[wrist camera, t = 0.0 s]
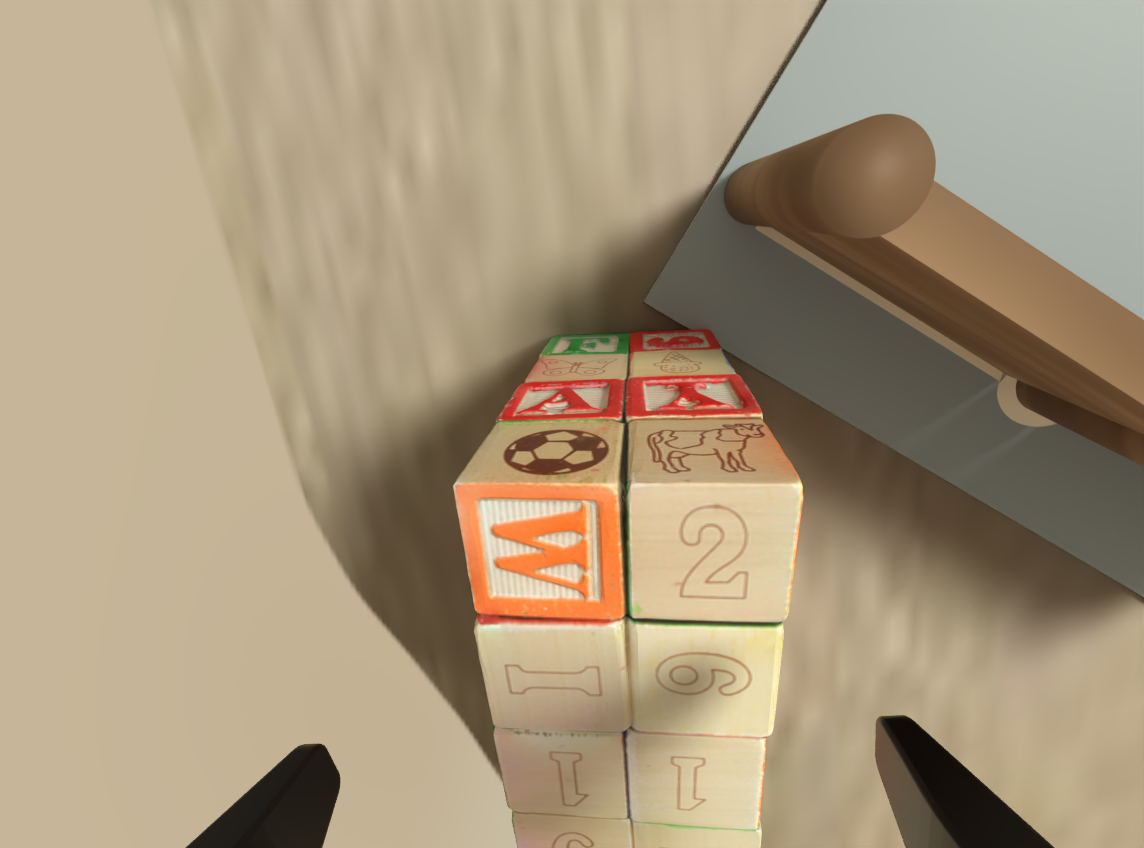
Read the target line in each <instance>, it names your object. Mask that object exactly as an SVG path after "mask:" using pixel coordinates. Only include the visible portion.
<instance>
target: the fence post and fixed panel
mask: <svg viewBox="0 0 1144 848" xmlns="http://www.w3.org/2000/svg"><path fill="white" fill-rule="evenodd" d="M935 170H936V158H935V151H934V147H933V144H932V142H931V139H930V137H929V136H928V134H927V132H926V131H925V130H924V129H923V128H922V127H921V126H920V125H919V124H918V123H916V122H915V121H913V120H912V119H910V118H907V117H905V116H902V115H897V114H879V115H874V116H870V117H867V118H865V119H862V120H859V121H857V122H854V123H852V124H849V125H846V126H844V127H841V128H839V129H836V130H833V131H831V132H828V133H825V134H823V135H820V136H818V137H815V138H812V139H810V140H807V141H805V142H802V143H799V144H797V145H794V146H791V147H789V148H786V149H784V150H781V151H778V152H776V153H773V154H771V155H768V156H765V157H763V158H760V159H757V160H755V161H752V162H750V163H747V164H745V165H743V166H741V167H740V168H738V169H737V170H736V171H735V172H734V173H733V174H732V176H731V177H730V179H729V180H728V182H727V185H726V188H725V193H724V201H725V206H726V209H727V211H728V213H729V214H730V215H731V217H732V218H733V219H735V220H736V221H738V222H740V223H742V224H747V225H755V226H763V227H771V228H773V229H775V230H776V231H778V232H779V233H781V234H783V235H784V236H786V237H787V238H789V239H791V240H792V241H794V242H795V243H797V244H799V245H800V246H802V247H803V248H805V249H807V250H808V251H810V252H811V253H813V254H815V255H816V256H818V257H819V258H821V259H822V260H824V261H826V262H827V263H829V264H830V265H832V266H834V267H835V268H837V269H838V270H840V271H842V272H843V273H845V274H846V275H848V276H850V277H851V278H853V279H854V280H856V281H858V282H859V283H861V284H862V285H864V286H866V287H867V288H869V289H870V290H872V291H874V292H875V293H877V294H878V295H880V296H882V297H883V298H885V299H886V300H888V301H889V302H891V303H893V304H894V305H896V306H897V307H899V308H901V309H902V310H904V311H905V312H907V313H909V314H910V315H912V316H913V317H915V318H917V319H918V320H920V321H921V322H923V323H925V324H926V325H928V326H929V327H931V328H933V329H934V330H936V331H937V332H939V333H941V334H942V335H944V336H945V337H947V338H949V339H950V340H952V341H953V342H955V343H957V344H958V345H960V346H961V347H963V348H964V349H966V350H968V351H969V352H971V353H972V354H974V355H976V356H977V357H979V358H980V359H982V360H984V361H985V362H987V363H988V364H990V365H992V366H993V367H995V368H996V369H998V370H1000V371H1001V372H1003V373H1004V374H1006V375H1008V376H1010V377H1012V378H1015V379H1017V383H1016V396H1017V399H1018V401H1019V402H1020V403H1021V404H1022V405H1023V406H1024V407H1025V408H1027V409H1029V410H1031V411H1033V412H1035V413H1037V414H1039V415H1041V416H1043V417H1045V418H1047V419H1049V420H1051V421H1053V422H1055V423H1057V424H1059V425H1061V426H1063V427H1065V428H1067V429H1069V430H1071V431H1073V432H1075V433H1077V434H1079V435H1081V436H1083V437H1085V438H1087V439H1089V440H1091V441H1093V442H1095V443H1097V444H1099V445H1101V446H1103V447H1105V448H1107V449H1109V450H1111V451H1113V452H1116V453H1118V454H1120V455H1122V456H1124V457H1126V458H1128V459H1130V460H1132V461H1134V462H1136V463H1138V464H1140V465H1142V466H1144V320H1143V319H1142V318H1140V317H1139V316H1137V315H1136V314H1134V313H1133V312H1131V311H1130V310H1128V309H1127V308H1125V307H1124V306H1122V305H1121V304H1119V303H1118V302H1116V301H1115V300H1113V299H1112V298H1110V297H1109V296H1107V295H1106V294H1104V293H1103V292H1101V291H1100V290H1098V289H1097V288H1095V287H1094V286H1092V285H1091V284H1089V283H1088V282H1086V281H1085V280H1083V279H1082V278H1080V277H1079V276H1077V275H1076V274H1074V273H1073V272H1071V271H1070V270H1068V269H1067V268H1065V267H1064V266H1062V265H1061V264H1059V263H1057V262H1056V261H1054V260H1053V259H1051V258H1050V257H1048V256H1047V255H1045V254H1044V253H1042V252H1041V251H1039V250H1038V249H1036V248H1035V247H1033V246H1032V245H1030V244H1029V243H1027V242H1026V241H1024V240H1023V239H1021V238H1020V237H1018V236H1017V235H1015V234H1014V233H1012V232H1011V231H1009V230H1008V229H1006V228H1005V227H1003V226H1002V225H1000V224H999V223H997V222H996V221H994V220H993V219H991V218H990V217H988V216H987V215H985V214H984V213H982V212H981V211H979V210H978V209H976V208H975V207H973V206H972V205H970V204H969V203H967V202H966V201H964V200H963V199H961V198H960V197H958V196H957V195H955V194H954V193H952V192H951V191H949V190H948V189H946V188H945V187H943V186H942V185H940V184H939V183H937V182H936V181H934V176H935Z"/></svg>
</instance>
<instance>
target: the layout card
mask: <svg viewBox="0 0 1144 848" xmlns="http://www.w3.org/2000/svg"><path fill="white" fill-rule="evenodd" d="M879 114H897V115H902V116H905V117H907V118H910V119H912V120H913V121H915V122H916V123H918V124H919V125H920V126H921V127H922V128H923V129H924V130H925V131H926V132H927V134H928V136H929V137H930V139H931V142H932V144H933V147H934V151H935V158H936V170H935V176H934V181H936V182H937V183H939V184H940V185H942V186H943V187H945V188H946V189H948V190H949V191H951V192H952V193H954V194H955V195H957V196H958V197H960V198H961V199H963V200H964V201H966V202H967V203H969V204H970V205H972V206H973V207H975V208H976V209H978V210H979V211H981V212H982V213H984V214H985V215H987V216H988V217H990V218H991V219H993V220H994V221H996V222H997V223H999V224H1000V225H1002V226H1003V227H1005V228H1006V229H1008V230H1009V231H1011V232H1012V233H1014V234H1015V235H1017V236H1018V237H1020V238H1021V239H1023V240H1024V241H1026V242H1027V243H1029V244H1030V245H1032V246H1033V247H1035V248H1036V249H1038V250H1039V251H1041V252H1042V253H1044V254H1045V255H1047V256H1048V257H1050V258H1051V259H1053V260H1054V261H1056V262H1057V263H1059V264H1061V265H1062V266H1064V267H1065V268H1067V269H1068V270H1070V271H1071V272H1073V273H1074V274H1076V275H1077V276H1079V277H1080V278H1082V279H1083V280H1085V281H1086V282H1088V283H1089V284H1091V285H1092V286H1094V287H1095V288H1097V289H1098V290H1100V291H1101V292H1103V293H1104V294H1106V295H1107V296H1109V297H1110V298H1112V299H1113V300H1115V301H1116V302H1118V303H1119V304H1121V305H1122V306H1124V307H1125V308H1127V309H1128V310H1130V311H1131V312H1133V313H1134V314H1136V315H1137V316H1139V317H1140V318H1142V319H1143V320H1144V0H826V2H825V3H824V5H823V7H822V8H821V10H820V12H819V13H818V15H817V16H816V18H815V20H814V21H813V23H812V25H811V26H810V28H809V30H808V31H807V33H806V35H805V36H804V38H803V40H802V41H801V43H800V45H799V46H798V48H797V49H796V51H795V53H794V54H793V56H792V58H791V59H790V61H789V63H788V64H787V66H786V68H785V69H784V71H783V73H782V74H781V76H780V77H779V79H778V81H777V82H776V84H775V86H774V87H773V89H772V91H771V92H770V94H769V96H768V97H767V99H766V101H765V102H764V104H763V105H762V107H761V109H760V110H759V112H758V114H757V115H756V117H755V119H754V120H753V122H752V124H751V125H750V127H749V129H748V130H747V132H746V133H745V135H744V137H743V138H742V140H741V142H740V143H739V145H738V147H737V148H736V150H735V152H734V153H733V155H732V157H731V158H730V160H729V161H728V163H727V165H726V166H725V168H724V170H723V171H722V173H721V175H720V176H719V178H718V180H717V181H716V183H715V185H714V186H713V188H712V189H711V191H710V193H709V194H708V196H707V198H706V199H705V201H704V203H703V204H702V206H701V208H700V209H699V211H698V213H697V214H696V216H695V217H694V219H693V221H692V222H691V224H690V226H689V227H688V229H687V231H686V232H685V234H684V236H683V237H682V239H681V241H680V242H679V244H678V245H677V247H676V249H675V250H674V252H673V254H672V255H671V257H670V259H669V260H668V262H667V264H666V265H665V267H664V269H663V270H662V272H661V274H660V275H659V277H658V278H657V280H656V282H655V283H654V285H653V287H652V288H651V290H650V292H649V293H648V295H647V297H646V298H645V300H644V303H646V304H648V305H649V306H651V307H653V308H655V309H656V310H658V311H660V312H661V313H663V314H665V315H666V316H668V317H670V318H671V319H673V320H675V321H677V322H678V323H680V324H682V325H683V326H685V327H687V328H688V329H690V330H697V329H707V330H711V331H712V333H713V334H714V337H715V339H716V340H717V341H718V343H719V344H720V346H721V348H722V349H724V350H726V351H727V352H729V353H731V354H732V355H734V356H736V357H738V358H739V359H741V360H743V361H744V362H746V363H748V364H749V365H751V366H753V367H755V368H756V369H758V370H760V371H761V372H763V373H765V374H766V375H768V376H770V377H771V378H773V379H775V380H777V381H778V382H780V383H782V384H783V385H785V386H787V387H788V388H790V389H792V390H793V391H795V392H797V393H799V394H800V395H802V396H804V397H805V398H807V399H809V400H810V401H812V402H814V403H815V404H817V405H819V406H821V407H822V408H824V409H826V410H827V411H829V412H831V413H832V414H834V415H836V416H838V417H839V418H841V419H843V420H844V421H846V422H848V423H849V424H851V425H853V426H854V427H856V428H858V429H860V430H861V431H863V432H865V433H866V434H868V435H870V436H871V437H873V438H875V439H876V440H878V441H880V442H882V443H883V444H885V445H887V446H888V447H890V448H892V449H893V450H895V451H897V452H899V453H900V454H902V455H904V456H905V457H907V458H909V459H910V460H912V461H914V462H915V463H917V464H919V465H921V466H922V467H924V468H926V469H927V470H929V471H931V472H932V473H934V474H936V475H937V476H939V477H941V478H943V479H944V480H946V481H948V482H949V483H951V484H953V485H954V486H956V487H958V488H960V489H961V490H963V491H965V492H966V493H968V494H970V495H971V496H973V497H975V498H976V499H978V500H980V501H982V502H983V503H985V504H987V505H988V506H990V507H992V508H993V509H995V510H997V511H998V512H1000V513H1002V514H1004V515H1005V516H1007V517H1009V518H1010V519H1012V520H1014V521H1015V522H1017V523H1019V524H1021V525H1022V526H1024V527H1026V528H1027V529H1029V530H1031V531H1032V532H1034V533H1036V534H1037V535H1039V536H1041V537H1043V538H1044V539H1046V540H1048V541H1049V542H1051V543H1053V544H1054V545H1056V546H1058V547H1059V548H1061V549H1063V550H1065V551H1066V552H1068V553H1070V554H1071V555H1073V556H1075V557H1076V558H1078V559H1080V560H1082V561H1083V562H1085V563H1087V564H1088V565H1090V566H1092V567H1093V568H1095V569H1097V570H1098V571H1100V572H1102V573H1104V574H1105V575H1107V576H1109V577H1110V578H1112V579H1114V580H1115V581H1117V582H1119V583H1120V584H1122V585H1124V586H1126V587H1127V588H1129V589H1131V590H1132V591H1134V592H1136V593H1137V594H1139V595H1141V596H1143V597H1144V466H1142V465H1140V464H1138V463H1136V462H1134V461H1132V460H1130V459H1128V458H1126V457H1124V456H1122V455H1120V454H1118V453H1116V452H1113V451H1111V450H1109V449H1107V448H1105V447H1103V446H1101V445H1099V444H1097V443H1095V442H1093V441H1091V440H1089V439H1087V438H1085V437H1083V436H1081V435H1079V434H1077V433H1075V432H1073V431H1071V430H1069V429H1067V428H1065V427H1063V426H1061V425H1059V424H1057V423H1055V422H1053V421H1051V420H1049V419H1047V418H1045V417H1043V416H1041V415H1039V414H1037V413H1035V412H1033V411H1031V410H1029V409H1027V408H1025V407H1024V406H1023V405H1022V404H1021V403H1020V402H1019V401H1018V399H1017V396H1016V383H1017V379H1015V378H1012V377H1010V376H1008V375H1006V374H1004V373H1003V372H1001V371H1000V370H998V369H996V368H995V367H993V366H992V365H990V364H988V363H987V362H985V361H984V360H982V359H980V358H979V357H977V356H976V355H974V354H972V353H971V352H969V351H968V350H966V349H964V348H963V347H961V346H960V345H958V344H957V343H955V342H953V341H952V340H950V339H949V338H947V337H945V336H944V335H942V334H941V333H939V332H937V331H936V330H934V329H933V328H931V327H929V326H928V325H926V324H925V323H923V322H921V321H920V320H918V319H917V318H915V317H913V316H912V315H910V314H909V313H907V312H905V311H904V310H902V309H901V308H899V307H897V306H896V305H894V304H893V303H891V302H889V301H888V300H886V299H885V298H883V297H882V296H880V295H878V294H877V293H875V292H874V291H872V290H870V289H869V288H867V287H866V286H864V285H862V284H861V283H859V282H858V281H856V280H854V279H853V278H851V277H850V276H848V275H846V274H845V273H843V272H842V271H840V270H838V269H837V268H835V267H834V266H832V265H830V264H829V263H827V262H826V261H824V260H822V259H821V258H819V257H818V256H816V255H815V254H813V253H811V252H810V251H808V250H807V249H805V248H803V247H802V246H800V245H799V244H797V243H795V242H794V241H792V240H791V239H789V238H787V237H786V236H784V235H783V234H781V233H779V232H778V231H776V230H775V229H773V228H771V227H763V226H755V225H747V224H742V223H740V222H738V221H736V220H735V219H733V218H732V217H731V215H730V214H729V213H728V211H727V209H726V206H725V201H724V193H725V188H726V185H727V182H728V180H729V179H730V177H731V176H732V174H733V173H734V172H735V171H736V170H737V169H738V168H740V167H741V166H743V165H745V164H747V163H750V162H752V161H755V160H757V159H760V158H763V157H765V156H768V155H771V154H773V153H776V152H778V151H781V150H784V149H786V148H789V147H791V146H794V145H797V144H799V143H802V142H805V141H807V140H810V139H812V138H815V137H818V136H820V135H823V134H825V133H828V132H831V131H833V130H836V129H839V128H841V127H844V126H846V125H849V124H852V123H854V122H857V121H859V120H862V119H865V118H867V117H870V116H874V115H879Z"/></svg>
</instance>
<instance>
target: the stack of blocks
mask: <svg viewBox="0 0 1144 848" xmlns="http://www.w3.org/2000/svg"><path fill="white" fill-rule="evenodd" d="M453 490H454V496H455V502H456V508H457V514H458V519H459V524H460V530H461V535H462V540H463V546H464V551H465V557H466V564H467V570H468V576H469V580H470V586H471V592H472V597H473V603H474V608H475V610H476V612H477V613H478V615H477V618H476V621H475V625H474V634H475V639H476V643H477V648H478V654H479V660H480V663H481V667H482V673H483V678H484V683H485V688H486V694H487V698H488V703H489V707H490V712H491V716H492V721H493V723H494V726H493V738H494V742H495V749H496V753H497V757H498V761H499V767H500V772H501V776H502V781H503V786H504V791H505V796H506V800H507V805H508V807H509V808H510V809H512V810H513V812H512V823H513V828H514V833H515V837H516V842H517V847H518V848H760V846H761V836H762V830H761V823H760V814H761V804H762V793H763V778H764V771H765V762H766V738H767V737H768V736H769V735H770V734H771V733H772V732H773V728H774V720H775V712H776V703H777V693H778V683H779V674H780V665H781V657H782V648H783V639H784V630H783V623H782V621H783V620H785V619H786V617H787V616H788V614H789V608H790V598H791V591H792V584H793V576H794V569H795V561H796V554H797V546H798V538H799V530H800V522H801V514H802V506H803V486H802V482H801V480H800V478H799V476H798V474H797V472H796V471H795V469H794V467H793V465H792V464H791V462H790V461H789V459H788V458H787V457H786V455H785V454H784V452H783V450H782V448H781V446H780V445H779V443H778V442H777V440H776V439H775V437H774V436H773V434H772V433H771V431H770V430H769V428H768V427H767V425H766V424H765V423H764V422H763V415H762V411H761V408H760V406H759V405H758V403H757V401H756V399H755V398H754V396H753V395H752V393H751V392H750V390H749V389H748V387H747V385H746V383H745V382H743V380H742V378H741V377H740V376H739V375H737V374H736V372H735V370H734V369H733V368H732V366H731V365H730V364H729V362H728V360H727V358H726V356H725V355H724V353H723V350H722V348H721V346H720V344H719V343H718V341H717V340H716V339H715V337H714V334H713V333H712V331H711V330H707V329H697V330H670V331H645V332H633V333H630V334H591V335H556V336H553V337H552V338H551V340H550V341H549V342H548V344H547V345H546V346H545V347H544V349H543V350H542V352H541V353H540V355H539V360H538V361H537V363H536V364H535V366H534V367H533V369H532V370H531V371H530V373H529V374H528V376H527V378H526V379H525V381H524V383H523V384H521V385H519V386H518V387H517V389H516V390H515V392H514V393H513V394H512V396H511V399H510V400H509V401H508V402H507V404H505V406H504V408H503V410H502V411H501V412H500V414H499V415H498V417H497V419H496V424H495V426H494V427H493V429H492V430H491V432H490V433H489V434H488V436H487V437H486V438H485V440H484V441H483V442H482V444H481V445H480V447H479V448H478V449H477V451H476V452H475V454H474V455H473V457H472V458H471V460H470V461H469V463H468V464H467V466H466V467H465V469H464V470H463V471H462V473H461V474H460V475H459V477H458V478H457V480H456V482H455V484H454V485H453Z"/></svg>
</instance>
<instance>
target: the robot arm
mask: <svg viewBox="0 0 1144 848" xmlns="http://www.w3.org/2000/svg"><path fill="white" fill-rule="evenodd" d="M875 757H876V763H877V767H878V770H879V774H880V776H881V779H882V782H883V785H884V788H885V790H886V793H887V796H888V799H889V802H890V805H891V807H892V810H893V813H894V816H895V819H896V821H897V824H898V827H899V830H900V833H901V835H902V838H903V841H904V844H905V847H906V848H1054V847H1053V846H1052V845H1051V844H1050V843H1049V842H1048V841H1046V840H1045V839H1044V838H1043V837H1042V836H1041V835H1040V834H1039V833H1038V832H1036V831H1035V830H1034V829H1033V828H1032V827H1031V826H1030V825H1029V824H1028V823H1026V822H1025V821H1024V820H1023V819H1022V818H1021V817H1020V816H1019V815H1018V814H1017V813H1015V812H1014V811H1013V810H1012V809H1011V808H1010V807H1009V806H1008V805H1007V804H1005V803H1004V802H1003V801H1002V800H1001V799H1000V798H999V797H998V796H997V795H995V794H994V793H993V792H992V791H991V790H990V789H989V788H988V787H987V786H985V785H984V784H983V783H982V782H981V781H980V780H979V779H978V778H977V777H976V776H974V775H973V774H972V773H971V772H970V771H969V770H968V769H967V768H966V767H964V766H963V765H962V764H961V763H960V762H959V761H958V760H957V759H956V758H954V757H953V756H952V755H951V754H950V753H949V752H948V751H947V750H946V749H944V748H943V747H942V746H941V745H940V744H939V743H938V742H937V741H936V740H934V739H933V738H932V737H931V736H930V735H929V734H928V733H927V732H926V731H925V730H923V729H922V728H921V727H920V726H919V725H918V724H917V723H916V722H915V721H913V720H912V719H911V718H909V717H907V716H904V715H896V716H881V717H879V718H878V719H877V721H876V741H875ZM339 789H340V774H339V772H338V770H337V768H336V766H335V764H334V762H333V760H332V758H331V756H330V754H329V752H328V750H327V748H326V747H325V746H324V745H322V744H304V745H301V746H298V747H297V748H295V749H294V750H293V751H292V752H290V753H289V754H288V755H287V756H286V757H285V758H284V759H283V760H282V761H281V762H280V763H278V764H277V765H276V766H275V767H274V768H273V769H272V770H271V771H270V772H268V773H267V774H266V775H265V776H264V777H263V778H262V779H261V780H260V781H259V782H257V783H256V784H255V785H254V786H253V787H252V788H251V789H250V790H249V791H248V792H247V793H245V794H244V795H243V796H242V797H241V798H240V799H239V800H238V801H236V802H235V803H234V804H233V805H232V806H231V807H230V808H229V809H228V810H227V811H225V812H224V813H223V814H222V815H221V816H220V817H219V818H218V819H217V820H216V821H214V823H212V824H211V825H210V826H209V827H208V828H207V829H206V830H205V831H203V832H202V833H201V834H200V835H199V836H198V837H197V838H196V839H195V840H194V841H193V842H191V843H190V844H189V845H188V846H187V847H186V848H322V846H323V843H324V840H325V837H326V833H327V830H328V826H329V823H330V820H331V816H332V813H333V810H334V806H335V803H336V800H337V796H338V793H339Z"/></svg>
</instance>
